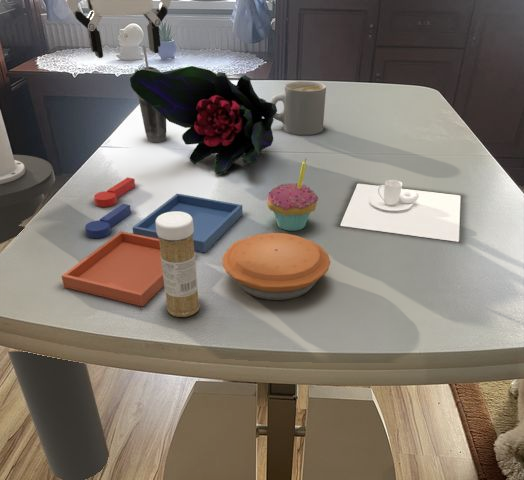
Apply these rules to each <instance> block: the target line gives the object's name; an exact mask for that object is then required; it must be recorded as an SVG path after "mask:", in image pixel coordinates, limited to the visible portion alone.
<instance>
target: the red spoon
mask: <svg viewBox="0 0 524 480" xmlns="http://www.w3.org/2000/svg"><path fill="white" fill-rule="evenodd" d="M135 187H136V182H135V178H134V177H126V178H124V179H122V180H121V181H119V182H118V183H116V184H115V185H113V186H111V187H109V188H108V189H107V190H106V191H105V190H103V191H99V192H96V193H95V194H94V195H93V199H94V204H95V206H97V207H100V208H109V207H112V206H115V205H116V204H117V203H118V198H120V197H121V196H123V195H125V194H126V193H127V192H129V191H131V190H132V189H134V188H135Z"/></svg>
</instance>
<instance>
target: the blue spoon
mask: <svg viewBox="0 0 524 480" xmlns="http://www.w3.org/2000/svg"><path fill="white" fill-rule="evenodd" d="M131 214H132V210H131V205H130V204H127V203H121V204H120V205H119V206H117V207H115V208H114V209H112V210H111V211H110V212H108V213H107V214H105V215H104V216H102V217H101V218H99V220H92V221H90V222H88V223H86V224H85V226H84V228H85V233H86V236H87V237H88V238H90V239H102V238H106V237H108V236H109V235H110V234H111V232H112V228H113V227H114V226H116V225H117V224H119V223H120V222H121V221H123V220H124V219H126V218H127V217H129V216H130V215H131Z"/></svg>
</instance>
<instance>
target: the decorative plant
mask: <svg viewBox="0 0 524 480" xmlns="http://www.w3.org/2000/svg"><path fill="white" fill-rule="evenodd" d="M142 69H143V68H141V69H137V70H136V71H135V72H134V73H133V74H132V75H131V77H130V78H129V83H130V87H131V88H132V90H133V92H135V93H136V95H137V94H138V95H139V96H140V97H141V98H142V99H143V100H145V101H146V102H148V103H149V104H150V105H152V106H153V107H154V108H155V109H156V110H158V111H159V112H160V113H161V114H162V115H163V116H164V117H165V118H166V121H168V122H169V123H171V124H174V125H177V126H179V127H181V128H185V129H186V131H185V132H184V133H183V134H182V135H181V139H182V142H184V144H185V145H186V146H187V145H188V146H189V145H196V147H194V149H193V150H192V153H191V154H190V156H189V162H190V163H191V164H193V165H196V164H198V163H200V162H201V161H203V160H205V159H206V158H209V157H210V156H212V155H214V154H215V160H214V173H216V174H217V175H218V176H219V175H225V174H226V173H227V171H228V170H229V169H230V168H231V167H232V165H233V164H234V163H235V162H236V161H237V160H238V159H240V158H242V160H243V164H244V165H246V164H247V163H256V162H257V160H258V157H259V154H260V152H261V151H263V150H264V149H267V148H269V147H271V146H272V144H273V142H274V134H273V130H272V125H273V123H274V120H275V119H274V118H273V117H274V115H275V113H278V108H277V104H276V105H275V104H273V103H270V102H271V101H270V102H269V101H267V100H266V99H264V98H261V97H259V95H258V94H257V93H256V91H255V90H254V87H253V84H252V82H251V78H250V77H249V76H247V75H246V74H243V75H241V76H240V78H239V79H238V80H237V82H236V84H234V83H233V82H232V81H231V80H230V79H229V78H228V76H227V74H226V73H225V72H221V71H219V72H217V73H216V72H214V71H212V70H211V69H207V68H202V67H198V66H194V65H189V66H185V67H180V68H176V69H171V70H166V71H160V72H157V71H149V70H142Z"/></svg>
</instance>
